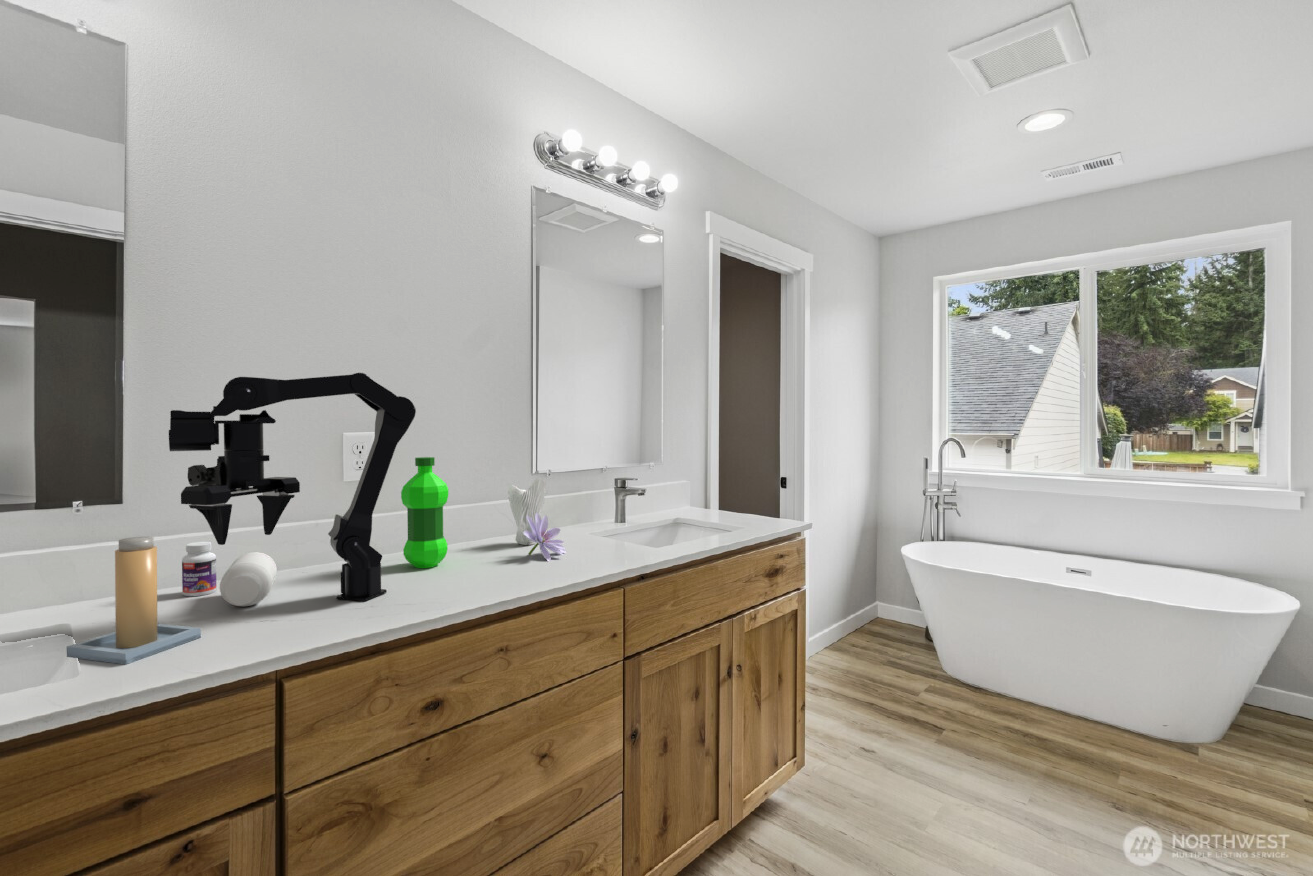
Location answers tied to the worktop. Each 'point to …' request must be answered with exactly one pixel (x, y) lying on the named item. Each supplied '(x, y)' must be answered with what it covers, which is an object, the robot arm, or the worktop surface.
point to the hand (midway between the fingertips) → (245, 539)
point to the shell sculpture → (526, 507)
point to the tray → (108, 652)
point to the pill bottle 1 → (198, 570)
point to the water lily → (544, 536)
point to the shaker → (136, 592)
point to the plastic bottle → (425, 515)
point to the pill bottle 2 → (248, 579)
